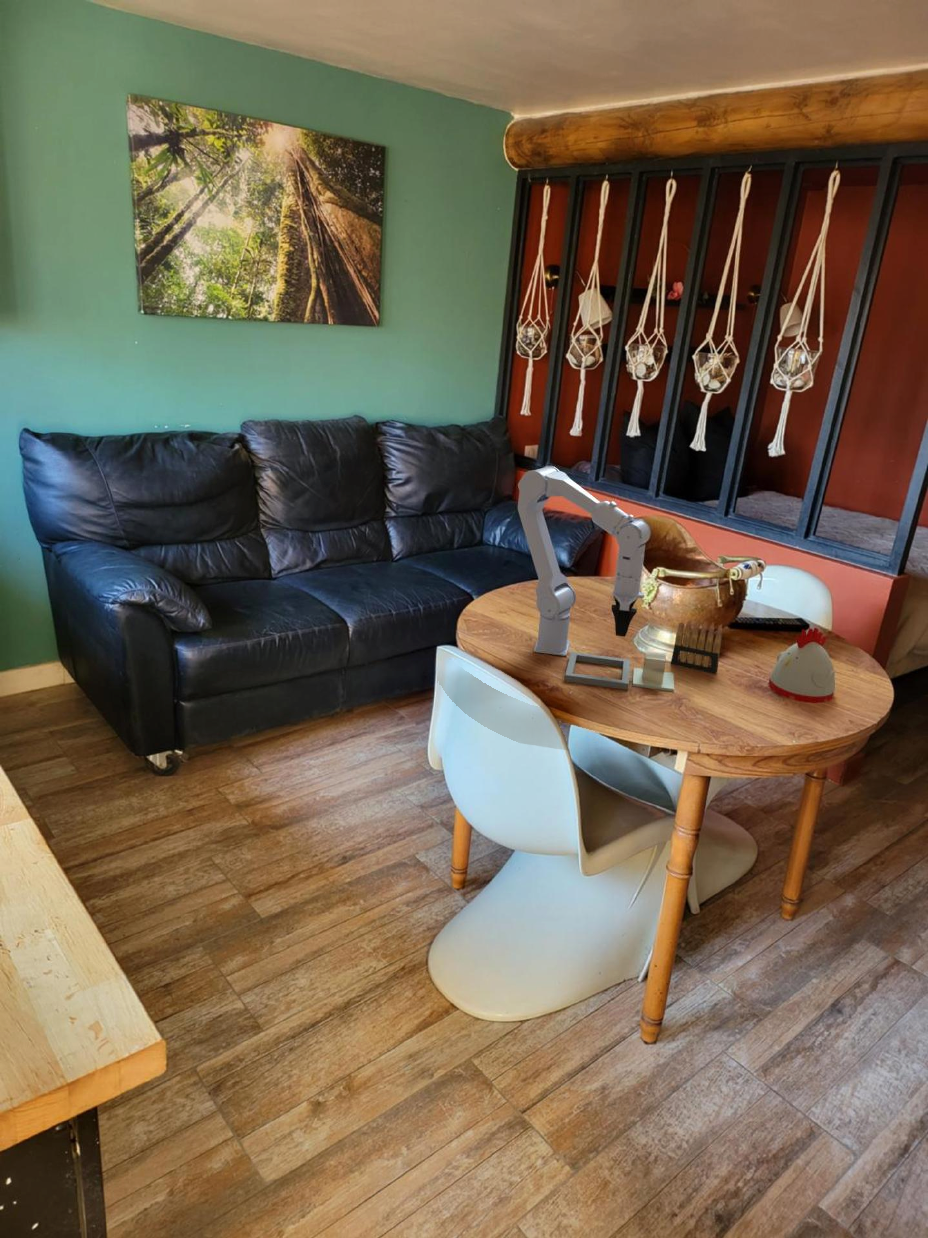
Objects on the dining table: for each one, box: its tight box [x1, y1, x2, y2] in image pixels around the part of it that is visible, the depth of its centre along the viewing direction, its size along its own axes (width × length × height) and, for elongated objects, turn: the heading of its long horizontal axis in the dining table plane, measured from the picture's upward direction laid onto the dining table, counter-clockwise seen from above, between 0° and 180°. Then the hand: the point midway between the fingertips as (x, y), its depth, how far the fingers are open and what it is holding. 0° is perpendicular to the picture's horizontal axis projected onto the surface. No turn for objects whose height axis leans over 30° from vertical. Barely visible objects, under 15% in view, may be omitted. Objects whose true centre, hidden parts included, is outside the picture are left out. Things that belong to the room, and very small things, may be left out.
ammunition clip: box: [670, 619, 723, 674], centre depth 195 cm, size 11×2×12 cm, turn 65°
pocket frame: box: [564, 651, 631, 691], centre depth 191 cm, size 14×14×2 cm
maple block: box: [642, 650, 667, 683], centre depth 188 cm, size 4×4×6 cm
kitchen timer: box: [768, 627, 836, 704], centre depth 186 cm, size 14×14×15 cm
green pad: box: [632, 667, 675, 692], centre depth 189 cm, size 9×9×1 cm
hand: (621, 629), depth 192 cm, fingers open, 7 cm apart
